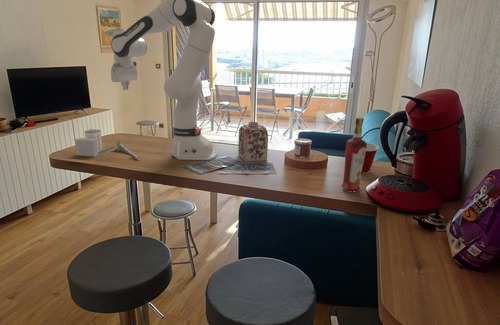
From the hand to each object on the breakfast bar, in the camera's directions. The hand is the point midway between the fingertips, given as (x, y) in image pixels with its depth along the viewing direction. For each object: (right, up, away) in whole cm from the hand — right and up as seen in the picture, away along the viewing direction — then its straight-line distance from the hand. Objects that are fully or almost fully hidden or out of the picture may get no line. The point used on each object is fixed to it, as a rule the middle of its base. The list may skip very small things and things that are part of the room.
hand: (125, 89), depth 175 cm
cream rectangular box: (-10, -33, -14) cm, 38 cm away
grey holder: (-10, -34, -12) cm, 37 cm away
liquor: (+105, -50, -49) cm, 126 cm away
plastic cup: (+117, -43, -27) cm, 128 cm away
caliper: (+7, -36, -14) cm, 39 cm away
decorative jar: (+68, -37, -12) cm, 78 cm away
